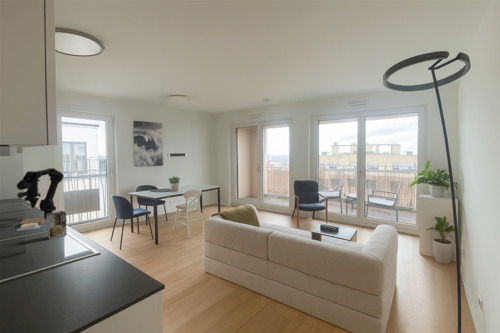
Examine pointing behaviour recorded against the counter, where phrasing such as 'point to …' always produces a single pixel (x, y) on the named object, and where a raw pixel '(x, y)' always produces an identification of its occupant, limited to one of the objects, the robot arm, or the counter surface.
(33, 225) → the tile
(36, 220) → the plate
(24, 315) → the counter surface
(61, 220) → the coffee box
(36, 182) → the robot arm
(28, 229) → the mat
